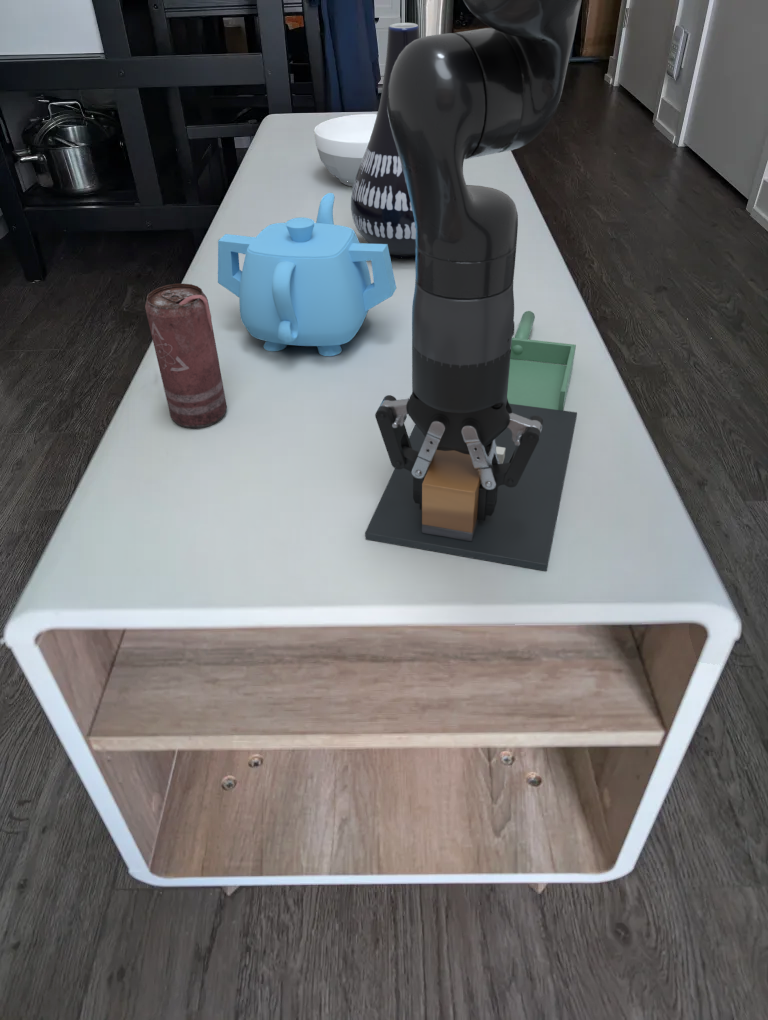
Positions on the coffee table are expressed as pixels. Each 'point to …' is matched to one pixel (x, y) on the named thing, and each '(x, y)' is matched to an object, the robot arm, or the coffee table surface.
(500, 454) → the chalk
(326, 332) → the teapot
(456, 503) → the eraser
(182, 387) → the can
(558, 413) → the slate
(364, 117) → the bowl
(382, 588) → the coffee table surface
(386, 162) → the vase
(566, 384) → the dustpan
